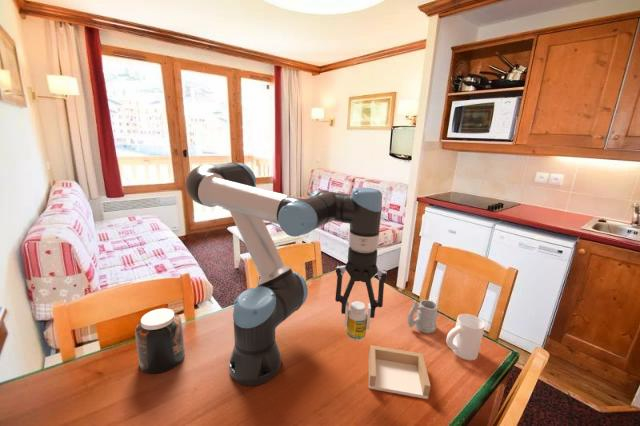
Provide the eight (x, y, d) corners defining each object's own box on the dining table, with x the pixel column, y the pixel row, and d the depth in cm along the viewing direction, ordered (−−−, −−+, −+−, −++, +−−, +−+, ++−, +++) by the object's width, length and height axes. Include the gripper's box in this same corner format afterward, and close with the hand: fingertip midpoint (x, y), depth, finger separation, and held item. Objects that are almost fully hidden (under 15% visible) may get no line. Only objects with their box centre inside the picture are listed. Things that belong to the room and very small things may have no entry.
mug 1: (440, 332, 104) (445, 304, 101) (411, 337, 101) (416, 307, 98) (427, 319, 111) (432, 292, 108) (400, 323, 108) (404, 295, 105)
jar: (150, 382, 78) (144, 336, 74) (133, 360, 85) (126, 317, 81) (191, 357, 87) (188, 315, 83) (172, 339, 94) (168, 300, 90)
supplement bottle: (357, 326, 84) (359, 297, 81) (369, 337, 80) (372, 307, 77) (342, 332, 81) (344, 302, 79) (354, 343, 77) (357, 313, 74)
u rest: (368, 388, 80) (370, 375, 78) (368, 356, 91) (370, 345, 90) (428, 399, 77) (430, 386, 76) (420, 365, 89) (422, 353, 87)
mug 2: (436, 345, 97) (441, 315, 94) (464, 341, 100) (471, 311, 97) (452, 364, 90) (459, 332, 87) (483, 358, 93) (490, 327, 90)
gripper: (325, 249, 71) (322, 328, 77) (400, 257, 68) (391, 338, 74) (330, 239, 79) (326, 312, 85) (398, 246, 75) (389, 321, 82)
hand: (356, 324), depth 79 cm, fingers closed on supplement bottle, 5 cm apart
